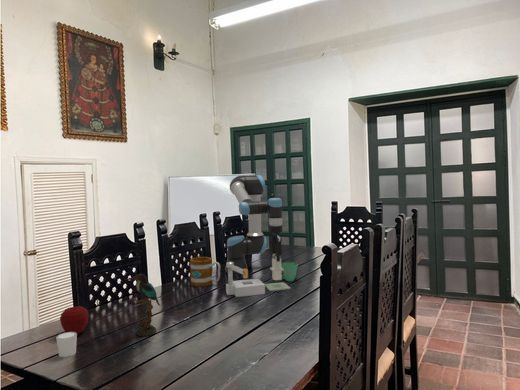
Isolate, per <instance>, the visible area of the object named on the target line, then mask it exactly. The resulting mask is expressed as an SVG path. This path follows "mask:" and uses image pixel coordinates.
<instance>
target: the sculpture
mask: <svg viewBox="0 0 520 390" xmlns="http://www.w3.org/2000/svg"><path fill="white" fill-rule="evenodd" d="M124 280H125V281H136V283H135V284H136V285H135V287H136V290H137V291H138V292H139V293H140V294H142V295H143V297H142V299H140V300H137V298H135V297H132V302H134V301H135V302H136V303H144V305H146V306H147V309H146V310H145V315H146V318H145V317H143V320H141V317H142V316H143V313H141V310H138V311H137V312H136V315H137V317H136V319H137V325H138V326H139V328H138V329H136V332H135V334H136V335H137V336H138V337H142V336H143V337H150V336H154V335H155V334H156V333H157V328H156V327H155V326H154V325H152V324H151V323H152V318H153V315H154V314H153V313H152V309H154V305H153V304H152V301H155V302H156V304H157V305H158V306H161V304H160V301H159V299H158V296H157V291H156V289H155V287H154V286H153V284H152V283H150V282H149V279H148V278H147V275H145V274H144V273H139V274H137V275H135V276H132V277H128V278H125V279H124ZM139 313H141V314H140V316H139Z"/></svg>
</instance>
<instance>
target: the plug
mask: <svg viewBox="0 0 520 390" xmlns="http://www.w3.org/2000/svg"><path fill="white" fill-rule="evenodd" d="M281 265H282V257H281V256H280V267H276V266H275V256H273V255H271V267H269V270H270V271H271V274H272V276H271V277H272V280H274V281H282V280H283V278H282V275H283V274H282V272H283V271H284V269H283V268H282V267H281Z"/></svg>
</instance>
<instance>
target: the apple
mask: <svg viewBox="0 0 520 390" xmlns="http://www.w3.org/2000/svg"><path fill="white" fill-rule="evenodd" d="M89 315H90V314H89V311H88V309H87V308H85V307H83V306H80V305H79V306H78V305H77V306H71V307H68V308H65V309H64V311H62V312H61V314H60V317H59V321H60V324H61V327H62V329H63V331H64V333H66V332H75V333H77V335H79V334H81V333H82V332H83V331H85V329H86V327H87V324H88V322H89V317H90V316H89Z"/></svg>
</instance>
